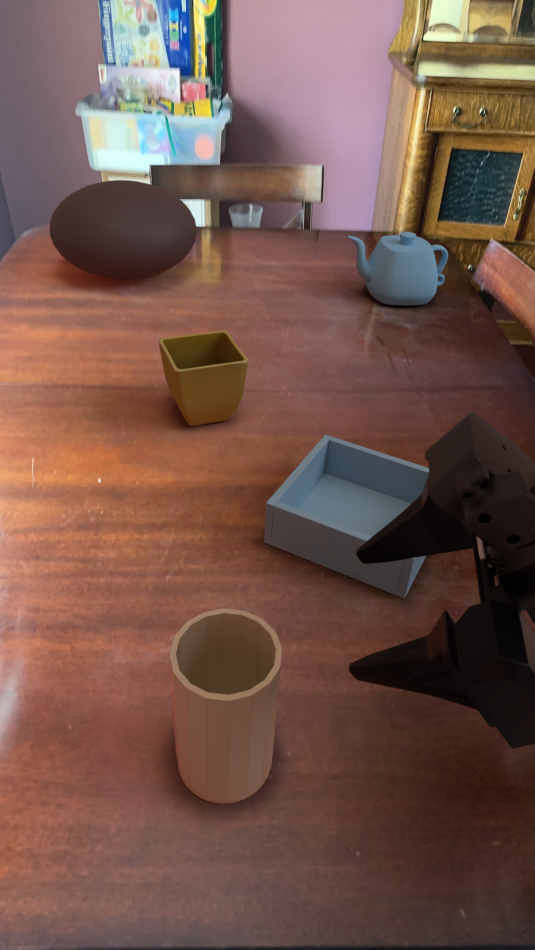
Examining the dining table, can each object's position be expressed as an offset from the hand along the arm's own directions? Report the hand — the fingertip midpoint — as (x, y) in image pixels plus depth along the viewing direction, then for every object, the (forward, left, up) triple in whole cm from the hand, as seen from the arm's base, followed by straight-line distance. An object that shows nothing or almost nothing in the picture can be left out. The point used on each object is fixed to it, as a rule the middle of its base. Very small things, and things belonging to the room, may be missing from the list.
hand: (355, 609), depth 41 cm
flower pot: (+32, -33, -15) cm, 49 cm away
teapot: (+25, -83, -15) cm, 88 cm away
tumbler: (+6, +5, -15) cm, 17 cm away
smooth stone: (+69, -66, -15) cm, 97 cm away
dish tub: (+7, -23, -15) cm, 28 cm away
